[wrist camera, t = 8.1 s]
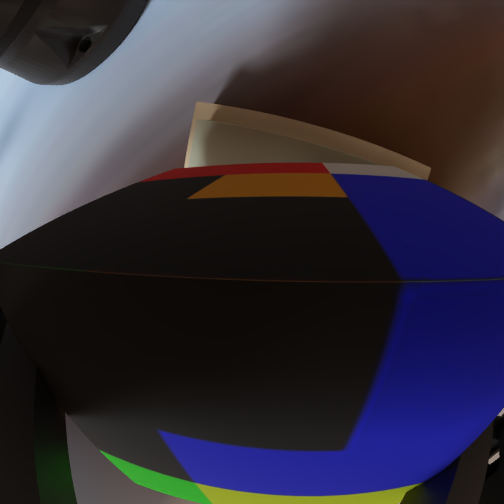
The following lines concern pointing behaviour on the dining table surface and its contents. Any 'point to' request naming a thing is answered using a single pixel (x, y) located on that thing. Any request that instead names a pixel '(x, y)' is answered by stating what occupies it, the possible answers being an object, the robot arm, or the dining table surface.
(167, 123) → the dining table surface
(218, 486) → the puzzle toy
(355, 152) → the plinth
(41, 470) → the robot arm
